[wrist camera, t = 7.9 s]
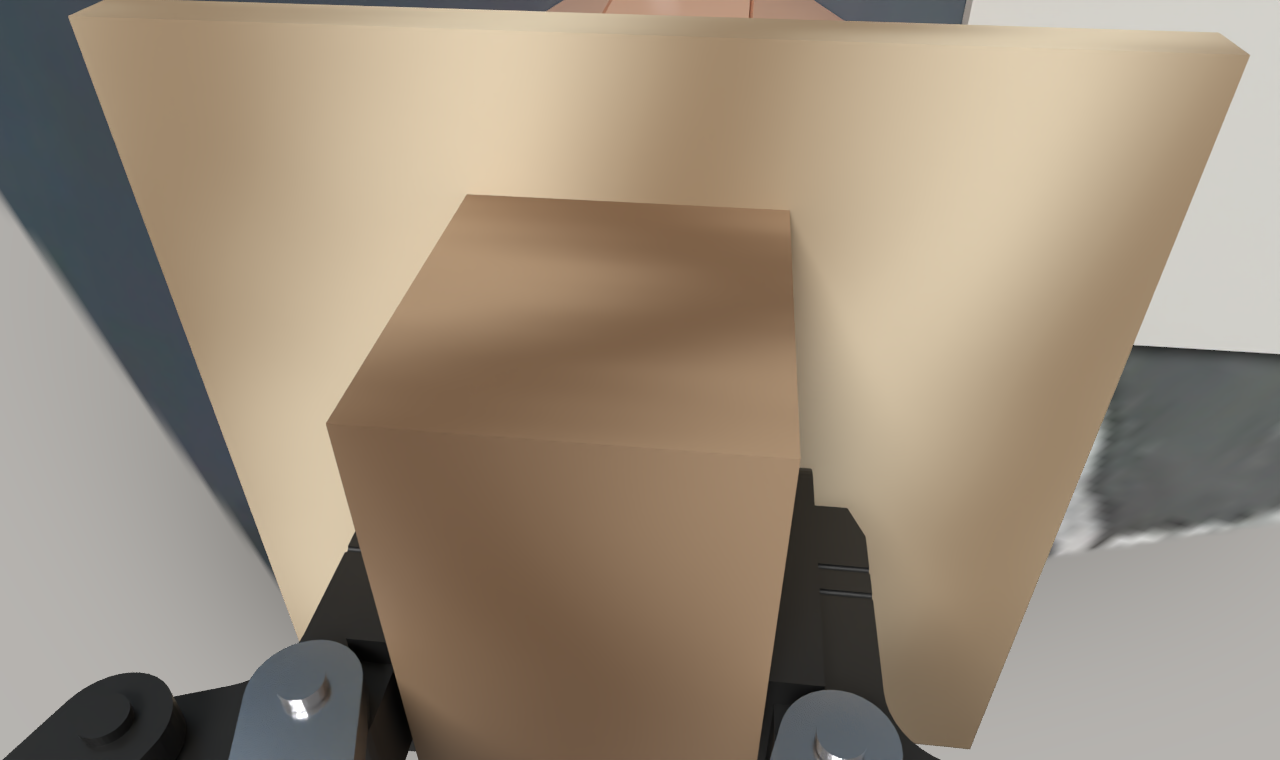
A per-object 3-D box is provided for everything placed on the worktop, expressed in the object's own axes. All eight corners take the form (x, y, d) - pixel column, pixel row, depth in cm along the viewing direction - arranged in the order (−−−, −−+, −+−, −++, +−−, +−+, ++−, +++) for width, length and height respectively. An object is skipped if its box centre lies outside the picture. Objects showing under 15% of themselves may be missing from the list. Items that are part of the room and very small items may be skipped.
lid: (1218, 32, 10) (1555, 276, 6) (962, 712, 18) (1023, 1025, 13) (107, -3, 11) (-300, 178, 7) (329, 649, 19) (203, 920, 15)
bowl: (925, -36, 19) (965, 32, 15) (858, 346, 25) (875, 465, 21) (472, -46, 20) (399, 15, 16) (512, 324, 26) (465, 434, 22)
